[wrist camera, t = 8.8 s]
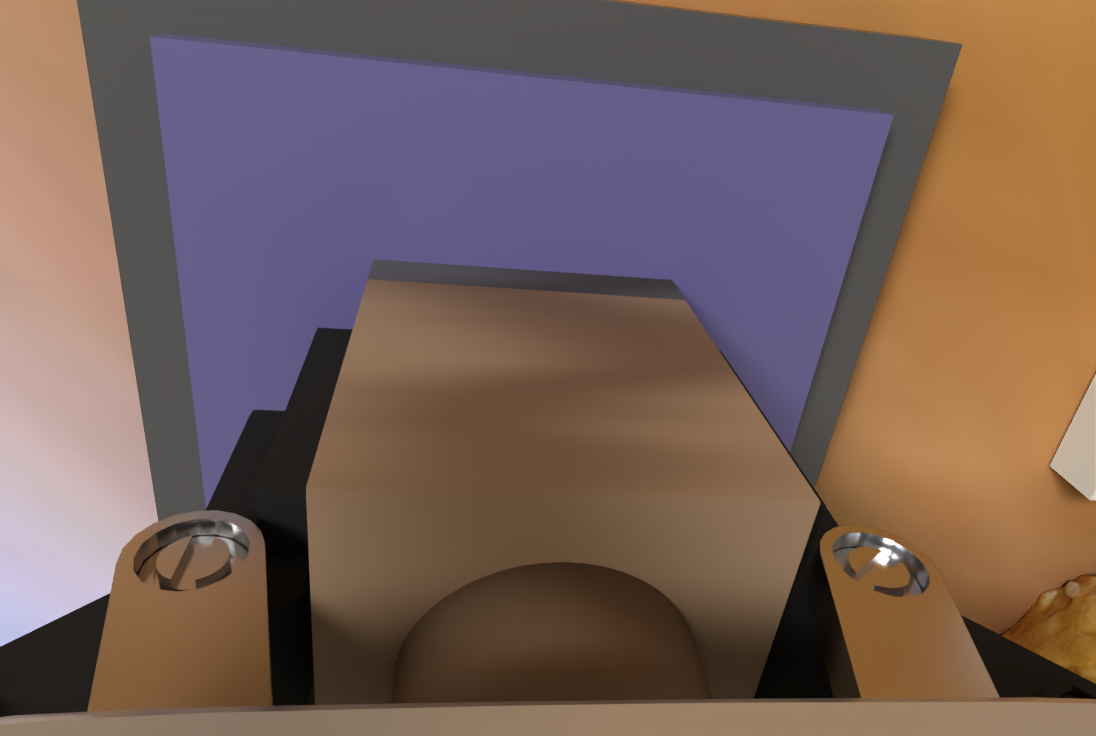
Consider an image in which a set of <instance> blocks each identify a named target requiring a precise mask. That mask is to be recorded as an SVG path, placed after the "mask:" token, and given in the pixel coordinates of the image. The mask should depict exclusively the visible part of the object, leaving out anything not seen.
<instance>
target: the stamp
mask: <svg viewBox="0 0 1096 736" xmlns="http://www.w3.org/2000/svg"><path fill="white" fill-rule="evenodd" d="M306 503H307V527H308V550H309V573H310V597H311V620H312V643H313V666H314V690H315V705H340V704H397V703H453V702H515V701H593V700H678V699H753V698H754V695H755V693H756V690H757V687H758V684H759V681H760V678H761V675H762V672H763V669H764V666H765V663H766V660H767V658H768V655H769V652H770V649H771V646H772V643H773V640H774V637H775V634H776V631H777V628H778V625H779V622H780V620H781V617H782V614H783V611H784V608H785V605H786V602H787V599H788V596H789V593H790V590H791V587H792V585H793V582H794V579H795V576H796V573H797V570H798V567H799V564H800V561H801V558H802V555H803V552H804V550H805V547H806V544H807V541H808V538H809V535H810V532H811V529H812V526H813V523H814V520H815V517H816V515H817V512H818V509H819V506H820V503H821V502H820V500H819V499H818V497H817V496H816V494H815V493H814V491H813V490H812V488H811V487H810V485H809V484H808V482H807V481H806V479H805V478H804V476H803V475H802V473H801V472H800V471H799V469H798V468H797V466H796V465H795V463H794V462H793V460H792V459H791V457H790V456H789V454H788V453H787V451H786V450H785V448H784V447H783V445H782V444H781V442H780V441H779V439H778V438H777V436H776V435H775V433H774V432H773V430H772V429H771V427H770V426H769V424H768V423H767V421H766V420H765V418H764V417H763V415H762V414H761V412H760V411H759V409H758V408H757V406H756V405H755V403H754V402H753V400H752V399H751V397H750V396H749V394H748V393H747V391H746V390H745V388H744V387H743V385H742V384H741V382H740V381H739V379H738V378H737V376H736V375H735V373H734V372H733V370H732V369H731V367H730V366H729V365H728V363H727V362H726V360H725V359H724V357H723V356H722V354H721V353H720V351H719V350H718V348H717V347H716V345H715V344H714V342H713V341H712V339H711V338H710V336H709V335H708V333H707V332H706V330H705V329H704V327H703V326H702V324H701V323H700V321H699V320H698V318H697V317H696V315H695V314H694V312H693V311H692V309H691V308H690V306H689V305H688V303H687V302H686V300H685V299H684V297H683V296H682V294H681V293H680V291H679V290H678V288H677V287H676V285H675V284H674V282H673V281H672V280H666V279H652V278H637V277H623V276H609V275H594V274H580V273H566V272H551V271H537V270H523V269H509V268H494V267H480V266H466V265H451V264H437V263H423V262H408V261H394V260H380V259H373V262H372V266H371V269H370V272H369V276H368V279H367V283H366V286H365V289H364V293H363V296H362V299H361V303H360V306H359V310H358V313H357V316H356V320H355V323H354V327H353V330H352V333H351V337H350V340H349V343H348V347H347V350H346V354H345V357H344V360H343V364H342V367H341V371H340V374H339V377H338V381H337V384H336V387H335V391H334V394H333V398H332V401H331V404H330V408H329V411H328V414H327V418H326V421H325V425H324V428H323V431H322V435H321V438H320V442H319V445H318V448H317V452H316V455H315V458H314V462H313V465H312V469H311V472H310V475H309V479H308V482H307V486H306Z"/></svg>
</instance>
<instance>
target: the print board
mask: <svg viewBox="0 0 1096 736" xmlns="http://www.w3.org/2000/svg"><path fill="white" fill-rule="evenodd" d="M1050 467H1051V468H1053V469H1054V470H1055V471H1056V472H1057V473H1058V474H1060V475H1061V476H1062V477H1063V478H1064V479H1066V480H1067V481H1068V482H1069V483H1070V484H1071V485H1073V486H1074V487H1075V488H1076V489H1077V490H1078V491H1080V492H1081V493H1082V494H1083V495H1084V496H1086V497H1087V498H1088V499H1089V500H1096V374H1095V376H1094V378H1093V380H1092V382H1091V384H1090V386H1089V388H1088V390H1087V392H1086V394H1085V396H1084V398H1083V400H1082V402H1081V404H1080V406H1079V408H1078V410H1077V412H1076V414H1075V416H1074V418H1073V420H1072V422H1071V424H1070V426H1069V428H1068V430H1067V432H1066V434H1065V436H1064V438H1063V440H1062V442H1061V444H1060V446H1059V448H1058V450H1057V452H1056V454H1055V456H1054V458H1053V460H1052V462H1051V464H1050Z"/></svg>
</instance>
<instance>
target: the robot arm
mask: <svg viewBox="0 0 1096 736" xmlns="http://www.w3.org/2000/svg"><path fill="white" fill-rule="evenodd" d="M352 330H353V329H335V328H317V330H316V333H315V335H314V338H313V340H312V343H311V346H310V348H309V351H308V353H307V356H306V358H305V361H304V363H303V366H302V369H301V371H300V374H299V376H298V379H297V381H296V384H295V387H294V389H293V392H292V394H291V397H290V399H289V402H288V404H287V407H286V410H285V411H279V410H253V411H252V413H251V414H250V416H249V418H248V420H247V422H246V424H245V426H244V429H243V431H242V433H241V435H240V437H239V439H238V442H237V444H236V446H235V448H234V450H233V452H232V454H231V457H230V459H229V461H228V463H227V465H226V467H225V470H224V472H223V474H222V476H221V478H220V480H219V482H218V485H217V487H216V489H215V491H214V493H213V495H212V498H211V500H210V502H209V504H208V506H207V508H206V510H205V511H193V512H188V513H183V514H178V515H174V516H171V517H169V518H166V519H164V520H161V521H159V522H156V523H154V524H152V525H150V526H149V527H147V528H146V529H144V530H143V531H141V532H139V533H138V534H136V535H135V536H134V537H133V538H132V539H131V540H130V541H129V542H128V544H127V545H126V546H125V547H124V548H123V549H122V552H121V554H120V556H119V558H118V561H117V563H116V568H115V573H114V578H113V583H112V588H111V593H110V594H108V595H106V596H104V597H102V598H99V599H97V600H95V601H93V602H91V603H89V604H87V605H85V606H83V607H81V608H79V609H77V610H75V611H73V612H71V613H69V614H67V615H65V616H63V617H61V618H58V619H56V620H54V621H52V622H50V623H48V624H46V625H44V626H42V627H40V628H38V629H36V630H34V631H32V632H30V633H28V634H26V635H24V636H22V637H20V638H18V639H15V640H13V641H11V642H9V643H7V644H5V645H3V646H1V647H0V736H1096V684H1095V683H1093V682H1091V681H1089V680H1087V679H1085V678H1083V677H1081V676H1079V675H1078V674H1076V673H1074V672H1072V671H1070V670H1068V669H1066V668H1064V667H1062V666H1060V665H1058V664H1056V663H1054V662H1052V661H1050V660H1048V659H1046V658H1044V657H1042V656H1040V655H1038V654H1036V653H1034V652H1032V651H1030V650H1028V649H1026V648H1024V647H1022V646H1020V645H1018V644H1017V643H1015V642H1013V641H1011V640H1009V639H1007V638H1005V637H1003V636H1001V635H999V634H997V633H995V632H993V631H991V630H989V629H987V628H985V627H983V626H981V625H979V624H977V623H975V622H973V621H971V620H969V619H967V618H965V617H963V616H961V615H960V613H959V611H958V609H957V607H956V605H955V602H954V600H953V598H952V596H951V594H950V592H949V590H948V588H947V586H946V584H945V582H944V579H943V577H942V575H941V573H940V572H939V570H938V569H937V567H936V566H935V565H934V563H933V562H932V560H930V559H929V558H928V557H927V556H926V555H925V554H924V553H923V552H922V551H921V550H919V549H918V548H917V547H915V546H913V545H912V544H910V543H909V542H907V541H905V540H904V539H902V538H900V537H898V536H895V535H893V534H891V533H888V532H886V531H883V530H880V529H876V528H872V527H868V526H859V525H845V526H838V524H837V523H836V521H835V520H834V518H833V517H832V515H831V514H830V512H829V511H828V509H827V508H826V506H825V504H824V502H823V501H822V499H821V498H820V496H819V495H818V493H817V492H816V490H815V489H814V487H813V486H812V484H811V483H810V482H809V480H808V479H807V477H806V476H805V474H804V473H803V471H802V470H801V468H800V467H799V465H798V464H797V462H796V461H795V459H794V458H793V456H792V455H791V453H790V452H789V450H788V449H787V447H786V446H785V444H784V443H783V442H782V440H781V439H780V437H779V436H778V434H777V433H776V431H775V430H774V428H773V427H772V425H771V424H770V422H769V421H768V419H767V418H766V416H765V415H764V413H763V412H762V410H761V409H760V407H759V406H758V404H757V403H756V402H755V400H754V399H753V397H752V396H751V394H750V393H749V391H748V390H747V388H746V387H745V385H744V384H743V382H742V381H741V379H740V378H739V376H738V375H737V373H736V372H735V370H734V369H733V367H732V366H731V364H730V363H729V362H728V360H727V359H726V357H725V356H724V354H723V353H722V352H721V351H720V350H719V351H720V353H721V354H722V356H723V357H724V359H725V360H726V362H727V363H728V365H729V366H730V367H731V369H732V370H733V372H734V373H735V375H736V376H737V378H738V379H739V381H740V382H741V384H742V385H743V387H744V388H745V390H746V391H747V393H748V394H749V396H750V397H751V399H752V400H753V402H754V403H755V405H756V406H757V408H758V409H759V411H760V412H761V414H762V415H763V417H764V418H765V420H766V421H767V423H768V424H769V426H770V427H771V429H772V430H773V432H774V433H775V435H776V436H777V438H778V439H779V441H780V442H781V444H782V445H783V447H784V448H785V450H786V451H787V453H788V454H789V456H790V457H791V459H792V460H793V462H794V463H795V465H796V466H797V468H798V469H799V471H800V472H801V473H802V475H803V476H804V478H805V479H806V481H807V482H808V484H809V485H810V487H811V488H812V490H813V491H814V493H815V494H816V496H817V497H818V499H819V500H820V502H821V503H820V506H819V509H818V512H817V515H816V517H815V520H814V523H813V526H812V529H811V532H810V535H809V538H808V541H807V544H806V547H805V550H804V552H803V555H802V558H801V561H800V564H799V567H798V570H797V573H796V576H795V579H794V582H793V585H792V587H791V590H790V593H789V596H788V599H787V602H786V605H785V608H784V611H783V614H782V617H781V620H780V622H779V625H778V628H777V631H776V634H775V637H774V640H773V643H772V646H771V649H770V652H769V655H768V658H767V660H766V663H765V666H764V669H763V672H762V675H761V678H760V681H759V684H758V687H757V690H756V693H755V695H754V698H753V699H678V700H593V701H515V702H453V703H397V704H340V705H315V690H314V666H313V643H312V620H311V597H310V573H309V550H308V527H307V503H306V486H307V482H308V479H309V475H310V472H311V469H312V465H313V462H314V458H315V455H316V452H317V448H318V445H319V442H320V438H321V435H322V431H323V428H324V425H325V421H326V418H327V414H328V411H329V408H330V404H331V401H332V398H333V394H334V391H335V387H336V384H337V381H338V377H339V374H340V371H341V367H342V364H343V360H344V357H345V354H346V350H347V347H348V343H349V340H350V337H351V333H352Z"/></svg>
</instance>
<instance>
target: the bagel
mask: <svg viewBox="0 0 1096 736" xmlns="http://www.w3.org/2000/svg"><path fill="white" fill-rule="evenodd" d="M1001 636H1003V637H1005V638H1007V639H1009V640H1011V641H1013V642H1015V643H1017V644H1018V645H1020V646H1022V647H1024V648H1026V649H1028V650H1030V651H1032V652H1034V653H1036V654H1038V655H1040V656H1042V657H1044V658H1046V659H1048V660H1050V661H1052V662H1054V663H1056V664H1058V665H1060V666H1062V667H1064V668H1066V669H1068V670H1070V671H1072V672H1074V673H1076V674H1078V675H1079V676H1081V677H1083V678H1085V679H1087V680H1089V681H1091V682H1093V683H1095V684H1096V576H1092V575H1082V576H1080V577H1078V578H1077V579H1075V580H1074V581H1070V582H1068V583H1067V585H1066V586H1064V587H1061V588H1056V589H1053V590H1049V591H1046V592H1043V593H1042V594H1041V595H1040V597H1039V599H1038V600H1037V602H1036V603H1035V604H1034V605H1032V607H1031V608H1030V610H1029V611H1028V612H1027V613H1026V614H1025V616H1024V617H1023V618H1022V619H1021V620H1020V621H1019V622H1018V623H1016V624H1015V625H1013V626H1012V628H1011V629H1010V630H1009V631H1007V632H1006V633H1004V634H1002V635H1001Z"/></svg>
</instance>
